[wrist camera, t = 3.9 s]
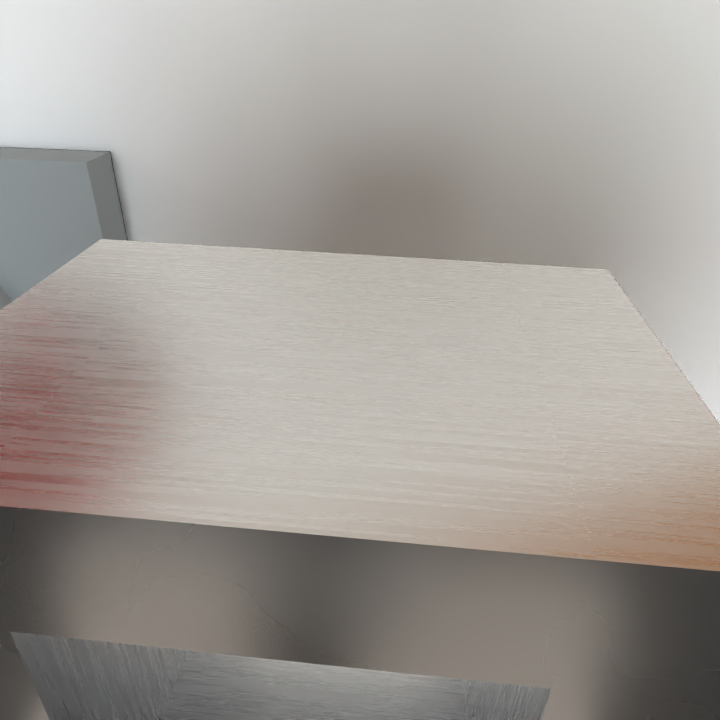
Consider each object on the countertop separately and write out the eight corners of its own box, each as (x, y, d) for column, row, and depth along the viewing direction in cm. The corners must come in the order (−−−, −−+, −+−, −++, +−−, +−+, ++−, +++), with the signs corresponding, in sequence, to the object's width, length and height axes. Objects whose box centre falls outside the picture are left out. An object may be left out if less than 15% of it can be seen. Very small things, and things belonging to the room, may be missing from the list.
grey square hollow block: (519, 605, 11) (578, 960, 7) (170, 571, 12) (27, 888, 8) (607, 268, 8) (834, 582, 4) (100, 238, 8) (-245, 483, 4)
